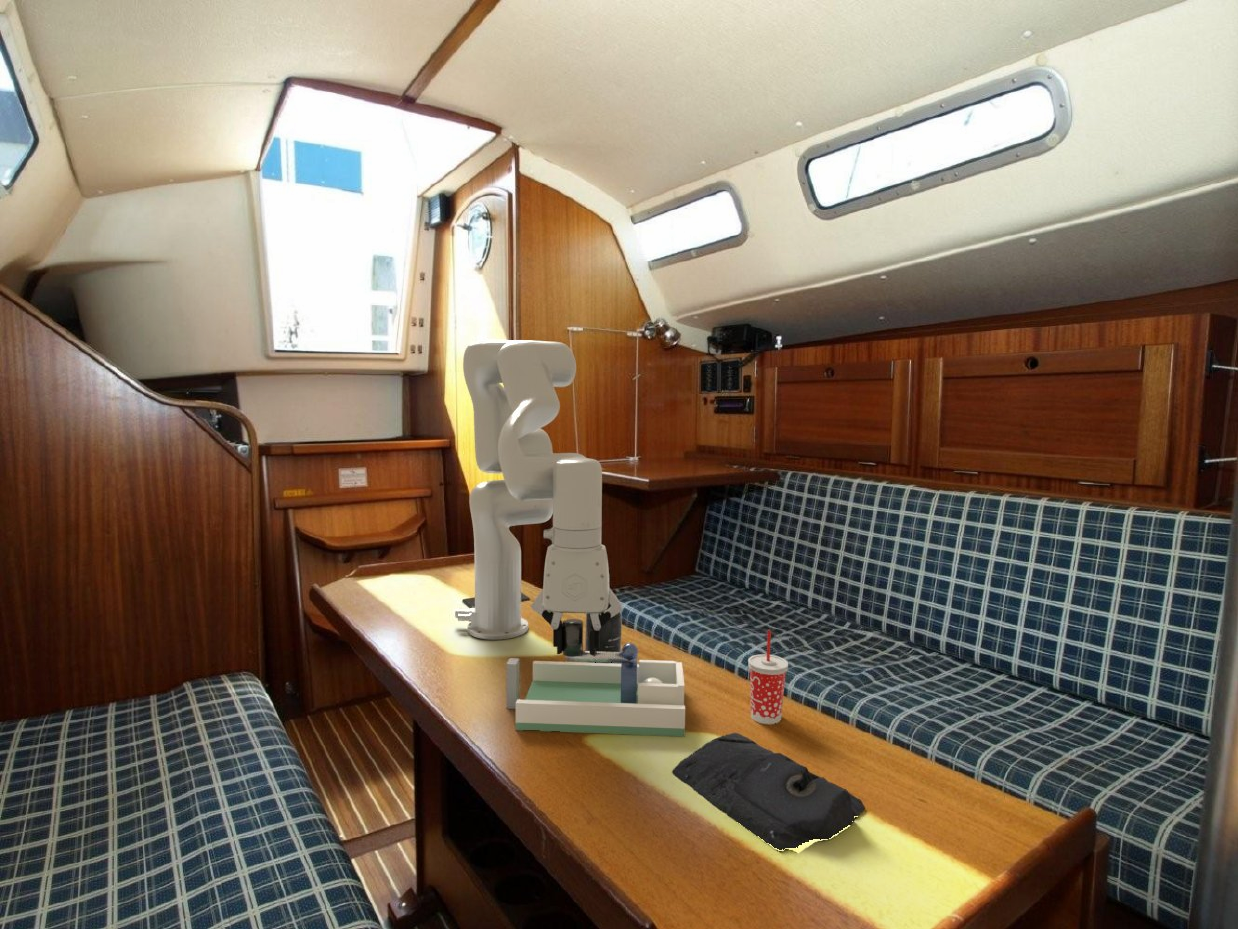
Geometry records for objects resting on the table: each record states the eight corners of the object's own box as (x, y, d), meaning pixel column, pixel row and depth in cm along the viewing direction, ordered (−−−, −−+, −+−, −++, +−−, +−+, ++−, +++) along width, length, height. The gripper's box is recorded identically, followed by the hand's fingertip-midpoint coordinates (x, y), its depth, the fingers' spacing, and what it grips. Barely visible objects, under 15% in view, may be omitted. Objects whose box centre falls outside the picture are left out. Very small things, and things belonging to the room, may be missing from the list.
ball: (670, 700, 106) (648, 713, 106) (669, 689, 110) (648, 701, 110) (656, 679, 106) (634, 692, 106) (656, 669, 110) (635, 681, 110)
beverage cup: (743, 707, 110) (746, 623, 108) (781, 708, 110) (785, 624, 108) (749, 726, 104) (752, 637, 102) (789, 727, 103) (793, 638, 102)
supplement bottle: (617, 666, 126) (618, 602, 124) (581, 662, 127) (581, 599, 126) (624, 652, 132) (625, 592, 131) (589, 649, 134) (590, 589, 132)
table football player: (559, 705, 106) (560, 628, 105) (564, 689, 112) (565, 615, 111) (636, 708, 105) (638, 630, 104) (637, 691, 111) (638, 617, 110)
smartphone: (519, 593, 171) (460, 602, 163) (519, 590, 171) (460, 598, 163) (531, 601, 165) (471, 611, 157) (531, 598, 165) (471, 607, 157)
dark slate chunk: (743, 741, 100) (744, 710, 100) (876, 818, 82) (878, 781, 82) (662, 774, 91) (663, 740, 91) (792, 868, 73) (794, 827, 73)
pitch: (496, 729, 101) (496, 682, 101) (517, 683, 117) (517, 642, 117) (684, 736, 100) (685, 688, 99) (679, 689, 116) (681, 647, 115)
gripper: (518, 541, 103) (518, 659, 104) (630, 544, 102) (629, 662, 104) (527, 531, 110) (527, 641, 112) (632, 534, 109) (630, 644, 111)
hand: (576, 650), depth 108 cm, fingers closed on table football player, 4 cm apart
